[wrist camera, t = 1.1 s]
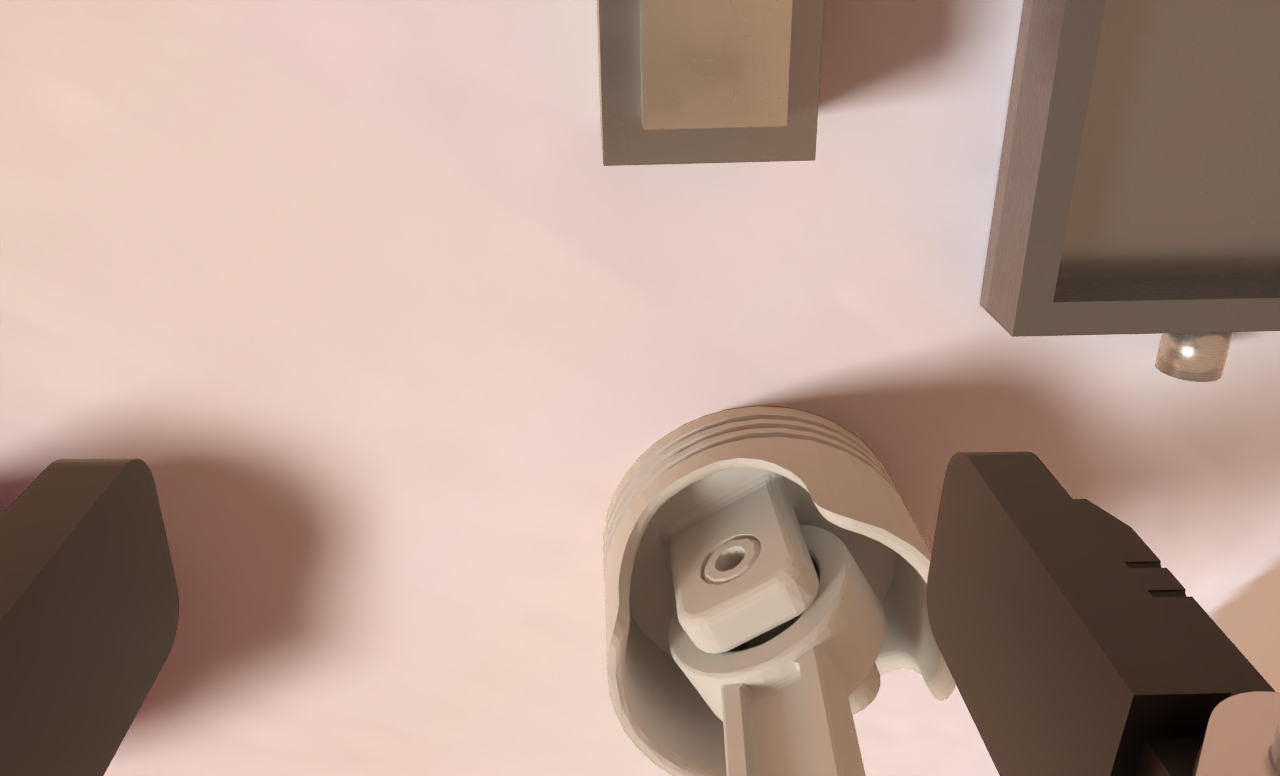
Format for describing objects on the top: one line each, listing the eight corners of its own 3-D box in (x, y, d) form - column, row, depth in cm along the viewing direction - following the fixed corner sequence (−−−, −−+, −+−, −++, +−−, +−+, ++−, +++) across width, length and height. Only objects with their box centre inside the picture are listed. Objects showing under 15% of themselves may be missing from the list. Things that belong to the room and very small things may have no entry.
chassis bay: (1061, -258, 25) (1110, -275, 23) (1531, -255, 26) (1627, -273, 23) (972, 353, 32) (1003, 388, 29) (1345, 344, 32) (1405, 378, 30)
